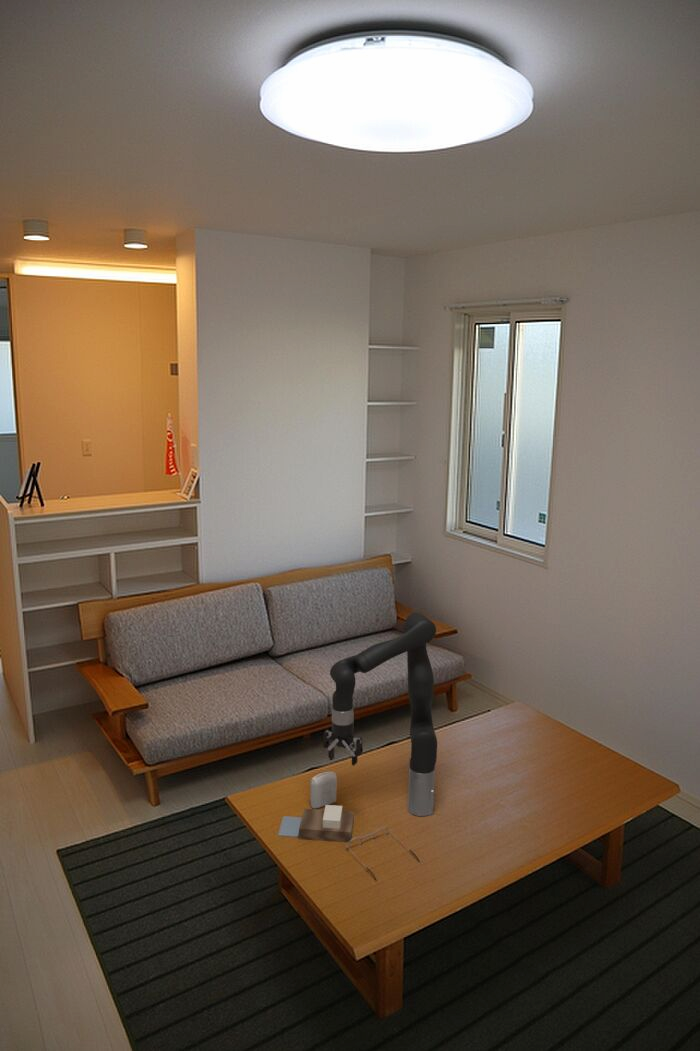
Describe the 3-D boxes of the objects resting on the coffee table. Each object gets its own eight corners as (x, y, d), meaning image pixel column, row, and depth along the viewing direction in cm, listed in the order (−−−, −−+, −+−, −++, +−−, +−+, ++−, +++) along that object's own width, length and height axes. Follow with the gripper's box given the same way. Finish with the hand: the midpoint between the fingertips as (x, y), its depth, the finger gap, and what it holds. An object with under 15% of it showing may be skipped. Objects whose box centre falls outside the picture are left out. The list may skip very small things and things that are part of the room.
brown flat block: (353, 821, 272) (353, 811, 271) (351, 842, 260) (351, 832, 259) (303, 818, 273) (303, 808, 272) (299, 839, 261) (299, 828, 260)
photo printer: (331, 796, 287) (332, 767, 284) (338, 802, 283) (338, 772, 281) (308, 804, 281) (308, 774, 279) (314, 810, 278) (314, 780, 275)
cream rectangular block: (342, 813, 270) (342, 805, 269) (340, 828, 261) (340, 821, 260) (325, 812, 270) (325, 804, 269) (322, 827, 261) (322, 819, 261)
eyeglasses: (388, 833, 266) (388, 823, 265) (421, 865, 251) (421, 855, 250) (344, 850, 257) (345, 840, 256) (376, 884, 241) (376, 874, 240)
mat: (302, 818, 273) (302, 817, 273) (298, 837, 262) (298, 836, 262) (283, 817, 274) (283, 816, 273) (278, 835, 263) (278, 835, 263)
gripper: (365, 718, 262) (365, 761, 266) (329, 710, 268) (329, 752, 272) (356, 728, 255) (356, 771, 259) (319, 719, 261) (319, 762, 265)
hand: (342, 761), depth 265 cm, fingers open, 8 cm apart
